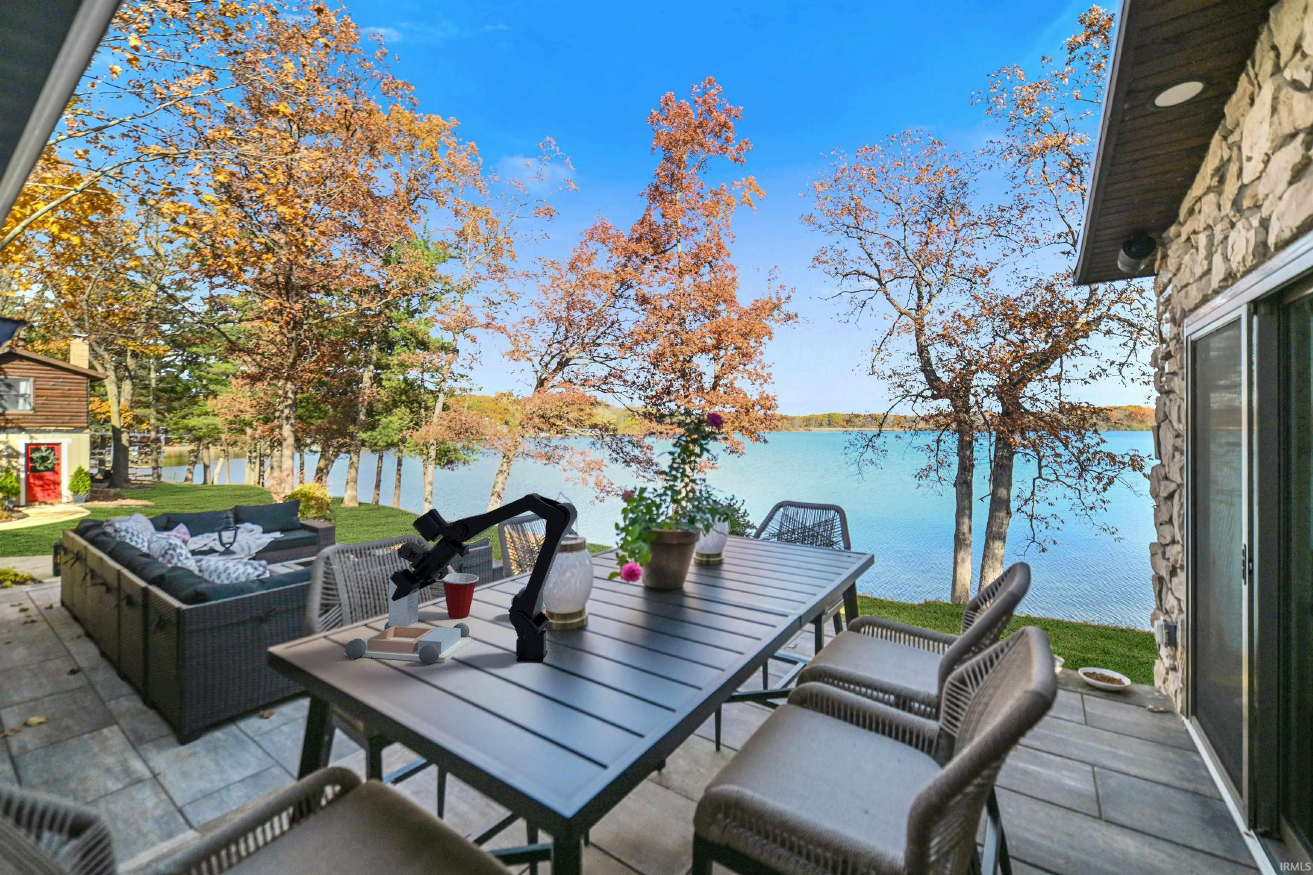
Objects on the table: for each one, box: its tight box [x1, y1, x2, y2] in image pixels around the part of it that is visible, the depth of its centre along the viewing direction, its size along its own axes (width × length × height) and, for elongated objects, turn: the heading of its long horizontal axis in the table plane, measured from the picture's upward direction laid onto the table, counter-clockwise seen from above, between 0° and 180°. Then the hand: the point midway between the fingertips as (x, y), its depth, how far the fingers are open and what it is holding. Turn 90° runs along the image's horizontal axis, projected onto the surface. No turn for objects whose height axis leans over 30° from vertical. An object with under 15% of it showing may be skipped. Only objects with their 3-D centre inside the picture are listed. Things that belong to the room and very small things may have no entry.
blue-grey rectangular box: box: [387, 575, 420, 627], centre depth 143 cm, size 5×5×12 cm
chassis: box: [344, 620, 472, 665], centre depth 143 cm, size 26×17×4 cm, turn 83°
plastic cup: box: [441, 572, 480, 620], centre depth 170 cm, size 11×11×12 cm
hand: (398, 596), depth 143 cm, fingers closed on blue-grey rectangular box, 5 cm apart
